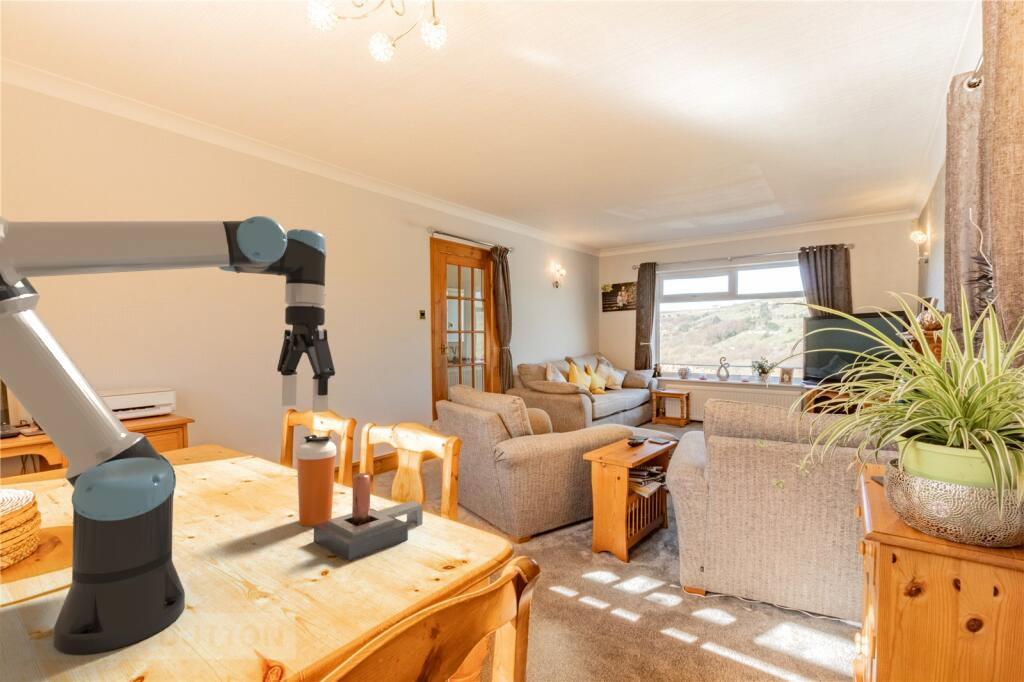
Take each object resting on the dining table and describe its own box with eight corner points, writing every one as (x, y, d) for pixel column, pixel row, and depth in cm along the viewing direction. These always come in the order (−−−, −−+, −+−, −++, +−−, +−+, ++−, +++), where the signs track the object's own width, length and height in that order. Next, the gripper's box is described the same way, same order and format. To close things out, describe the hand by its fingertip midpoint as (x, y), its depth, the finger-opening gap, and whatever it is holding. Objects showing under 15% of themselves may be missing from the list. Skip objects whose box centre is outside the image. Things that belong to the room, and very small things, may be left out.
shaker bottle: (321, 529, 107) (322, 441, 107) (286, 526, 109) (287, 439, 109) (342, 515, 116) (344, 434, 116) (310, 512, 118) (311, 432, 118)
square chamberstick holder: (348, 561, 92) (348, 543, 92) (313, 541, 101) (313, 525, 101) (407, 539, 102) (407, 523, 102) (371, 523, 111) (371, 508, 111)
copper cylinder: (357, 545, 99) (358, 478, 99) (348, 541, 101) (349, 475, 101) (372, 540, 102) (373, 475, 102) (363, 535, 104) (364, 472, 104)
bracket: (352, 555, 94) (352, 532, 95) (327, 541, 101) (327, 520, 101) (430, 526, 110) (430, 507, 110) (404, 516, 116) (404, 497, 116)
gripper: (354, 304, 93) (352, 412, 93) (295, 309, 109) (294, 401, 109) (317, 301, 87) (315, 417, 87) (261, 307, 104) (260, 404, 103)
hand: (303, 408), depth 98 cm, fingers open, 13 cm apart
